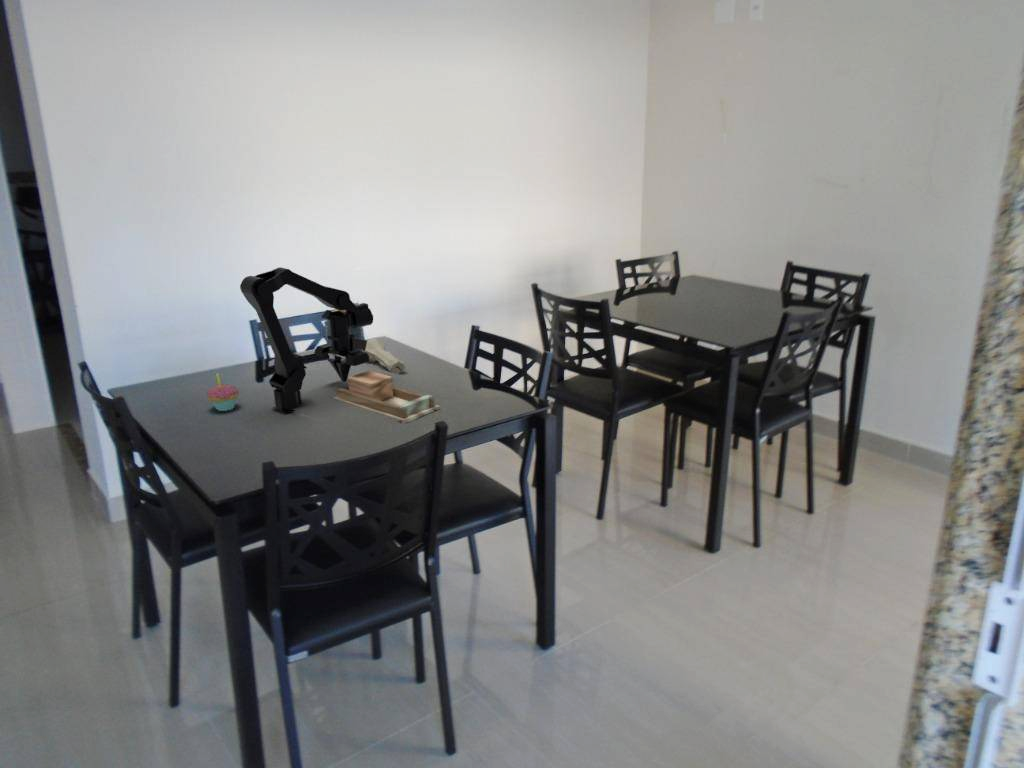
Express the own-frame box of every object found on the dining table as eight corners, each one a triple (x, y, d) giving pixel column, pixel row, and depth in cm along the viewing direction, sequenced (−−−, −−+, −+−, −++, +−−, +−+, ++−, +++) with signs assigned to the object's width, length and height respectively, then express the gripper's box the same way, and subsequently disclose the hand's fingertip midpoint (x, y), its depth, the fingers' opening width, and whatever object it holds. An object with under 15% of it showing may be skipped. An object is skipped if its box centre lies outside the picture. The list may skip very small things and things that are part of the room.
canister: (366, 357, 261) (362, 307, 255) (328, 360, 257) (323, 310, 251) (362, 347, 272) (358, 300, 267) (326, 350, 269) (321, 302, 263)
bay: (403, 424, 200) (402, 410, 199) (333, 401, 218) (332, 388, 217) (439, 409, 211) (439, 396, 209) (369, 388, 229) (368, 376, 227)
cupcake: (235, 413, 210) (230, 373, 206) (205, 414, 209) (198, 374, 205) (244, 403, 218) (238, 364, 214) (214, 404, 217) (208, 365, 213)
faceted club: (383, 353, 261) (416, 374, 242) (362, 363, 258) (393, 386, 239) (376, 331, 257) (408, 351, 238) (354, 341, 254) (385, 362, 234)
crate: (372, 404, 212) (370, 384, 210) (349, 396, 218) (347, 377, 216) (393, 396, 218) (392, 376, 216) (370, 389, 224) (369, 370, 222)
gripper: (381, 330, 219) (385, 380, 224) (341, 321, 230) (345, 369, 236) (352, 338, 211) (356, 390, 216) (311, 328, 222) (316, 378, 227)
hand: (344, 381), depth 224 cm, fingers closed
